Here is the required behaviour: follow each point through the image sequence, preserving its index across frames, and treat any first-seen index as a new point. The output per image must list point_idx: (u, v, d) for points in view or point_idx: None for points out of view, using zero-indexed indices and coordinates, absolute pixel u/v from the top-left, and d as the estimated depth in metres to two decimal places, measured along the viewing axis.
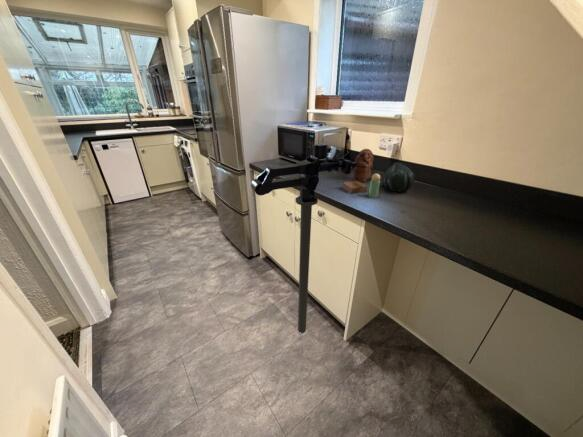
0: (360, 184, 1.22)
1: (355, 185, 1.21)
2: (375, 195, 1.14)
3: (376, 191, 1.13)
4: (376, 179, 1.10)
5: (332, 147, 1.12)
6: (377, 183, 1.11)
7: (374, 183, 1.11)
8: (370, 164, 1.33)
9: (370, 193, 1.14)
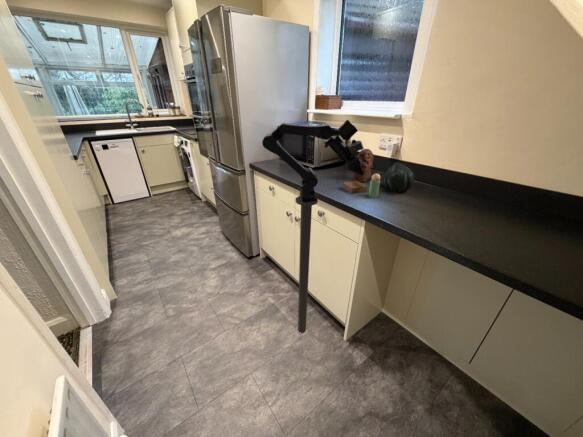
0: (360, 184, 1.22)
1: (355, 185, 1.21)
2: (375, 195, 1.14)
3: (376, 191, 1.13)
4: (376, 179, 1.10)
5: (358, 141, 1.05)
6: (377, 183, 1.11)
7: (374, 183, 1.11)
8: (370, 164, 1.33)
9: (370, 193, 1.14)
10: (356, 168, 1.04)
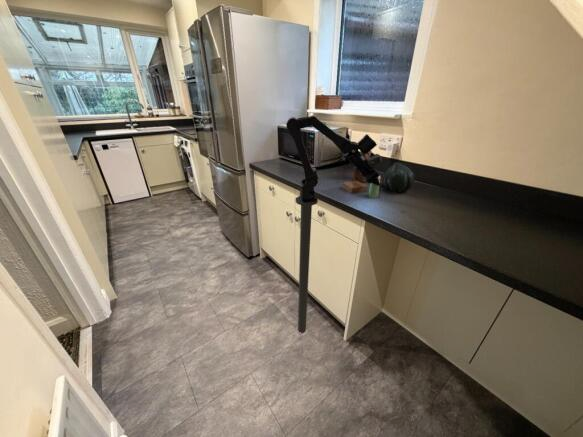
0: (360, 184, 1.22)
1: (355, 185, 1.21)
2: (375, 195, 1.14)
3: (376, 191, 1.13)
4: None
5: (376, 154, 1.08)
6: None
7: None
8: None
9: (370, 193, 1.14)
10: None
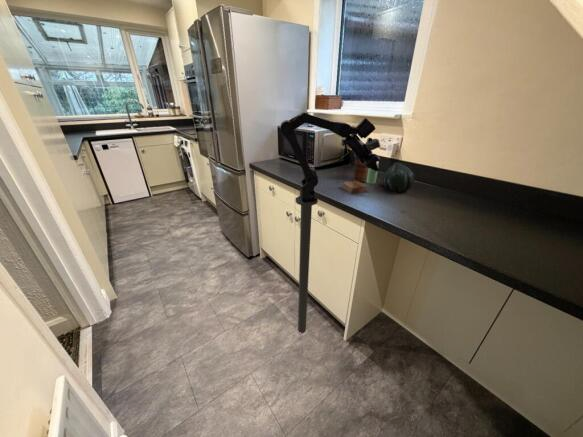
0: (360, 184, 1.22)
1: (355, 185, 1.21)
2: (373, 181, 1.13)
3: (374, 177, 1.12)
4: None
5: (374, 139, 1.07)
6: None
7: (372, 169, 1.10)
8: None
9: (368, 179, 1.13)
10: None
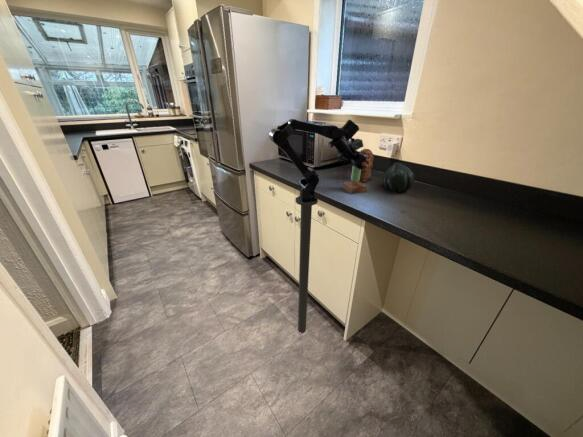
0: (360, 184, 1.22)
1: (355, 185, 1.21)
2: (358, 179, 1.19)
3: (359, 175, 1.18)
4: None
5: (357, 139, 1.13)
6: None
7: None
8: (370, 164, 1.33)
9: (353, 177, 1.19)
10: None
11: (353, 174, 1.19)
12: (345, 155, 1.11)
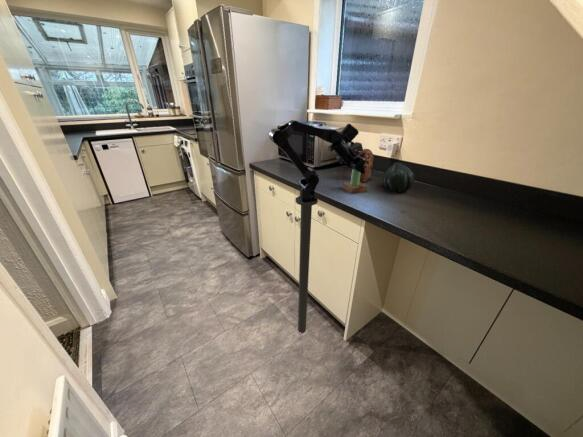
0: (360, 184, 1.22)
1: None
2: (358, 183, 1.20)
3: (358, 179, 1.19)
4: None
5: (356, 143, 1.13)
6: None
7: (357, 172, 1.17)
8: (370, 164, 1.33)
9: (353, 182, 1.20)
10: (359, 168, 1.12)
11: (353, 179, 1.20)
12: (345, 159, 1.12)
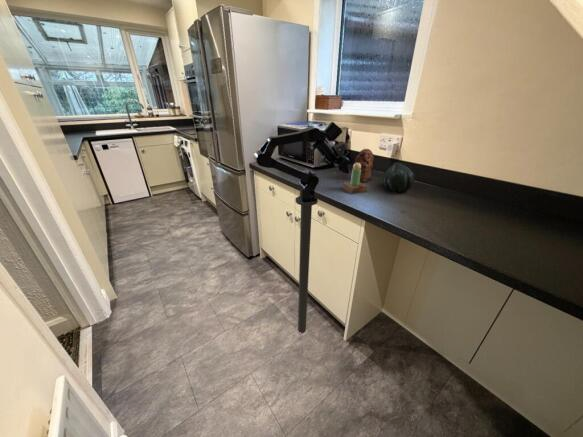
0: (360, 184, 1.22)
1: None
2: (358, 183, 1.20)
3: (358, 179, 1.19)
4: (358, 168, 1.17)
5: (341, 142, 1.10)
6: (359, 171, 1.17)
7: (357, 172, 1.17)
8: (370, 164, 1.33)
9: (353, 182, 1.20)
10: (343, 168, 1.09)
11: (353, 179, 1.20)
12: (328, 158, 1.08)
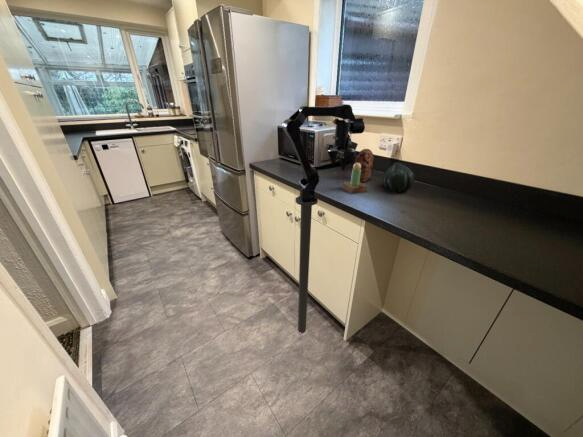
0: (360, 184, 1.22)
1: None
2: (358, 183, 1.20)
3: (358, 179, 1.19)
4: (358, 168, 1.17)
5: None
6: (359, 171, 1.17)
7: (357, 172, 1.17)
8: (370, 164, 1.33)
9: (353, 182, 1.20)
10: (344, 160, 1.07)
11: (353, 179, 1.20)
12: (338, 143, 1.07)
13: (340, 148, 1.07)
